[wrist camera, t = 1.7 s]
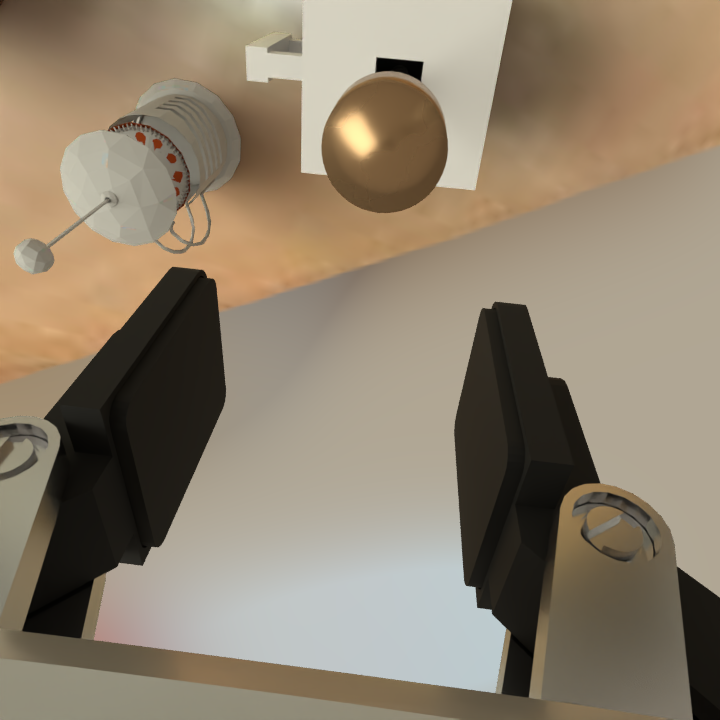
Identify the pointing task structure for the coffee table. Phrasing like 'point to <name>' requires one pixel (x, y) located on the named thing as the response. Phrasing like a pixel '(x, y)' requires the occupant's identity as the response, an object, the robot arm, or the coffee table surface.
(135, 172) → the french press
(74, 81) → the coffee table surface
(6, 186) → the coffee table surface
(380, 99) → the plunger
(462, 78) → the socket block
